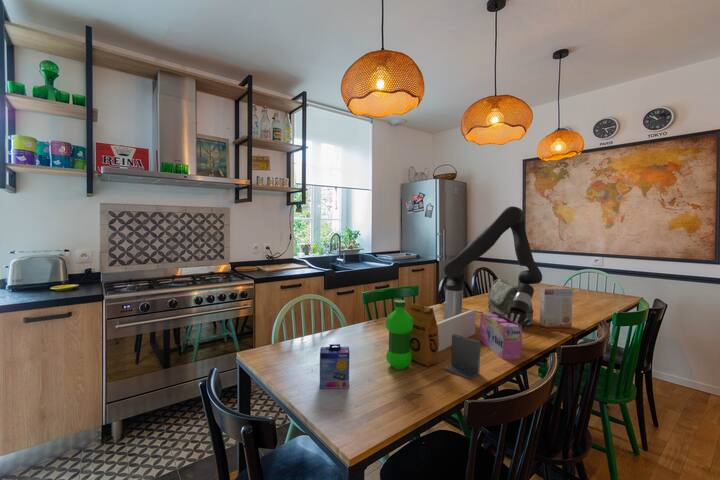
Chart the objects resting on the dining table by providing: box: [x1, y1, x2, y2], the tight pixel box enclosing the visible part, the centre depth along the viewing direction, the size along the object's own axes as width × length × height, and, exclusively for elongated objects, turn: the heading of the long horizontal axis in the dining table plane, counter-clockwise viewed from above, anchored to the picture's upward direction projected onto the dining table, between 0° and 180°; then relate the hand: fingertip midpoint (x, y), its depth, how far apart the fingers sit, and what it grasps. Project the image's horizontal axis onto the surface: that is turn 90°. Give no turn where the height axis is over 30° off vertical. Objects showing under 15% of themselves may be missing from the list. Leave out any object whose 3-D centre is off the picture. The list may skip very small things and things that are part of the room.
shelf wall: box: [437, 308, 477, 353], centre depth 150 cm, size 2×40×12 cm, turn 135°
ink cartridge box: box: [319, 343, 350, 390], centre depth 111 cm, size 10×6×14 cm, turn 95°
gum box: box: [479, 311, 523, 360], centre depth 145 cm, size 24×8×14 cm, turn 4°
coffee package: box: [408, 302, 439, 367], centre depth 131 cm, size 10×12×22 cm
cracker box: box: [539, 286, 574, 329], centre depth 176 cm, size 14×6×21 cm, turn 84°
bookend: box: [443, 334, 481, 380], centre depth 121 cm, size 10×6×12 cm, turn 45°
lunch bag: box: [487, 278, 534, 327], centre depth 188 cm, size 26×18×22 cm
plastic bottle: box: [385, 299, 413, 370], centre depth 125 cm, size 10×10×25 cm
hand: (510, 335), depth 148 cm, fingers closed
